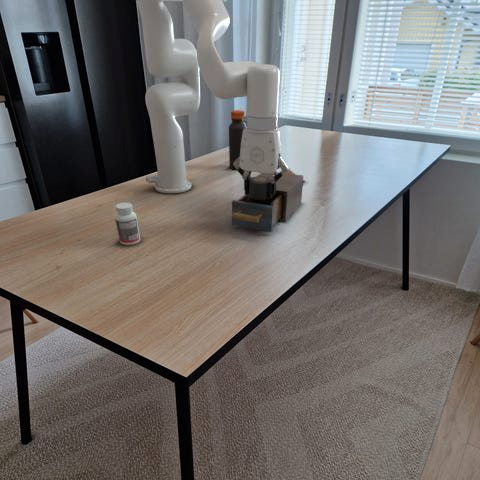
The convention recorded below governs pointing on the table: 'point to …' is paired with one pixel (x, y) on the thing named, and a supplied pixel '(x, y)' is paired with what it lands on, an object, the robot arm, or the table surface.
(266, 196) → the tape roll
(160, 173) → the robot arm
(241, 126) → the vinegar
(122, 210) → the pill bottle
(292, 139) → the table surface
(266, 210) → the drawer
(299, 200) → the cabinet
